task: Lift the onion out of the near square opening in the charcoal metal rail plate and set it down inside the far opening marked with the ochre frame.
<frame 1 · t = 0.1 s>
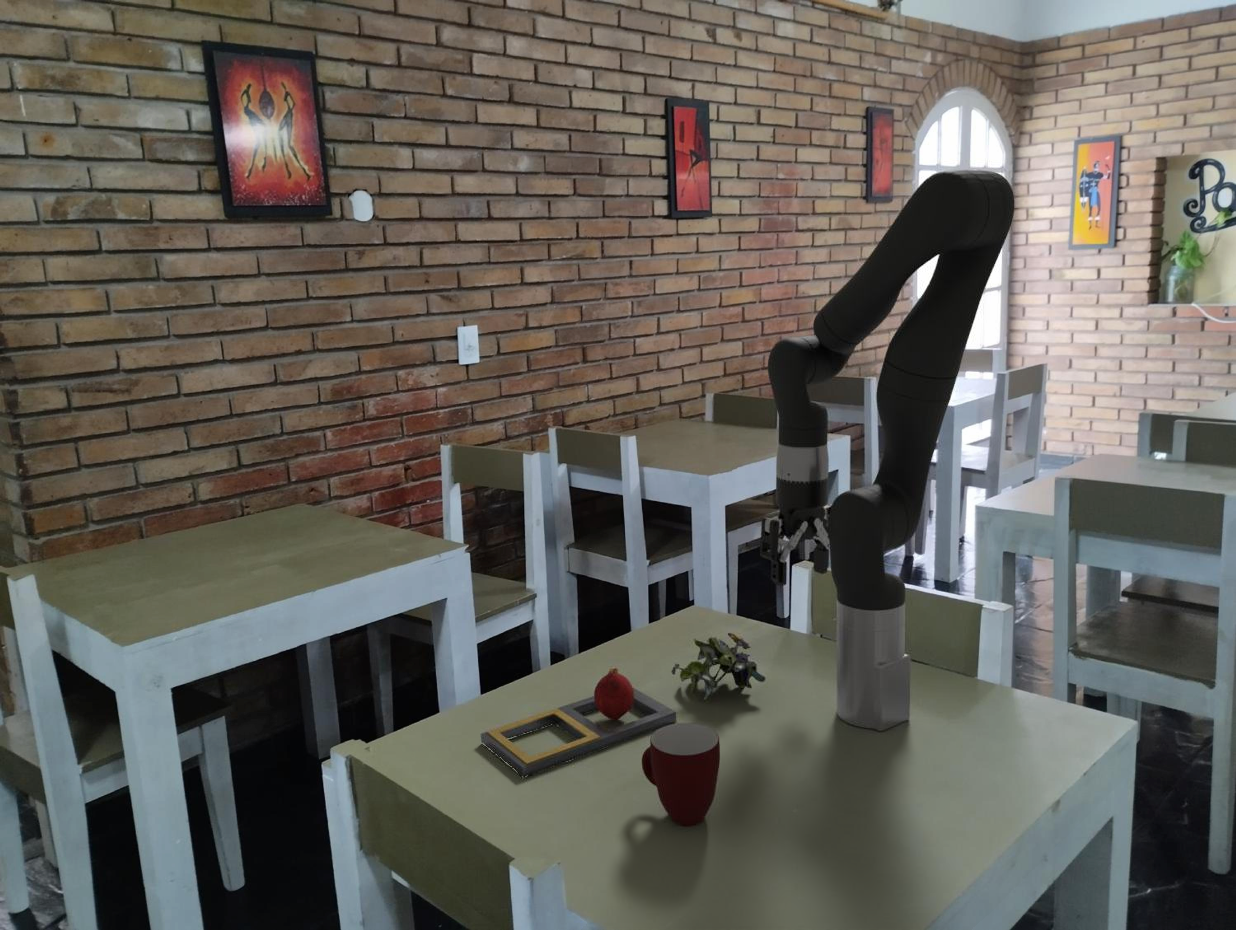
hand: (800, 578, 145), 17 cm above the table, tool pointing down, fingers open, 8 cm apart
onion: (615, 721, 139), resting in rail plate
rail plate: (580, 732, 136), on the table
passion flower: (718, 695, 146), on the table
mug: (678, 815, 115), on the table
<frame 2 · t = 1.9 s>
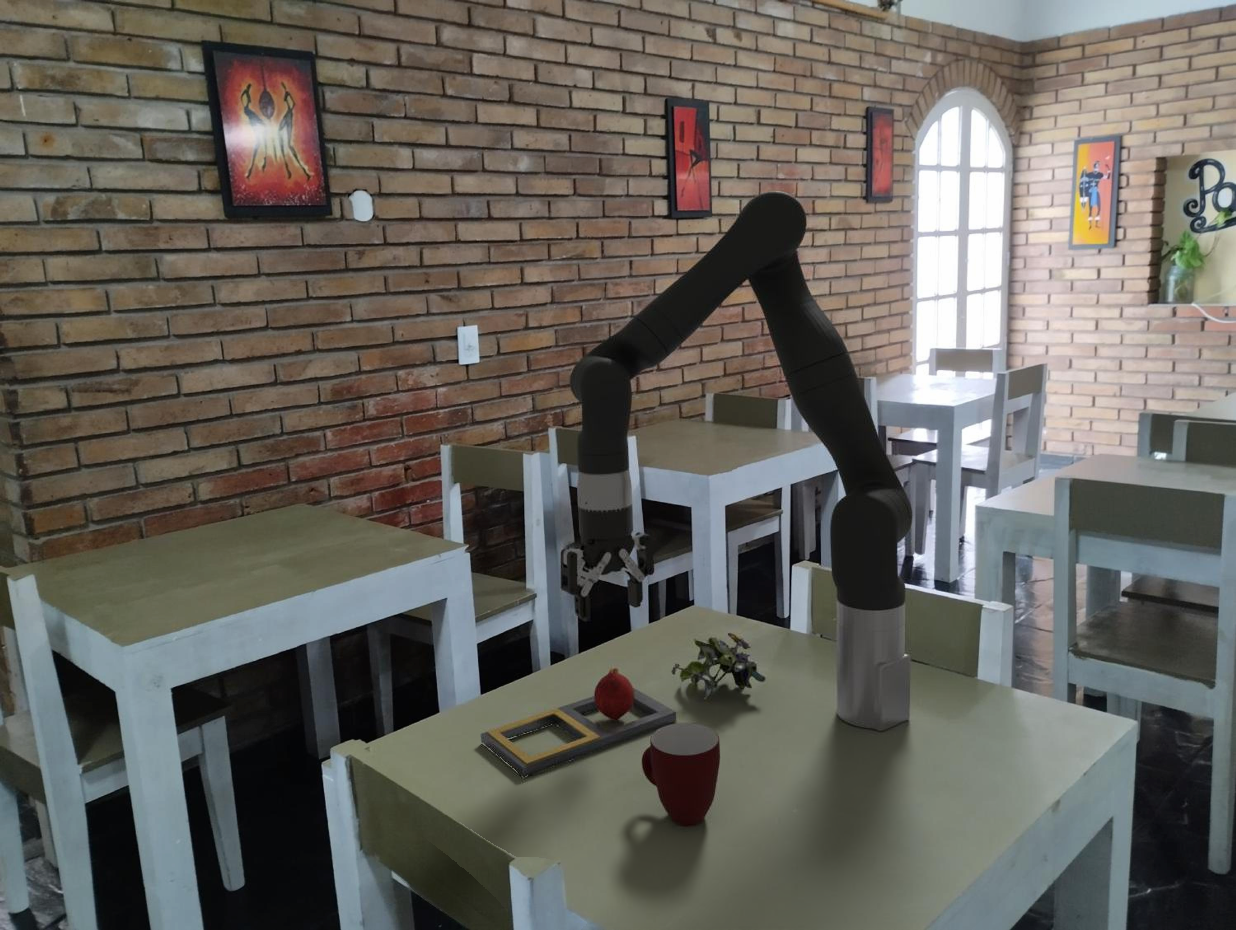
hand: (610, 612, 136), 16 cm above the table, tool pointing down, fingers open, 8 cm apart
nothing on the table moved.
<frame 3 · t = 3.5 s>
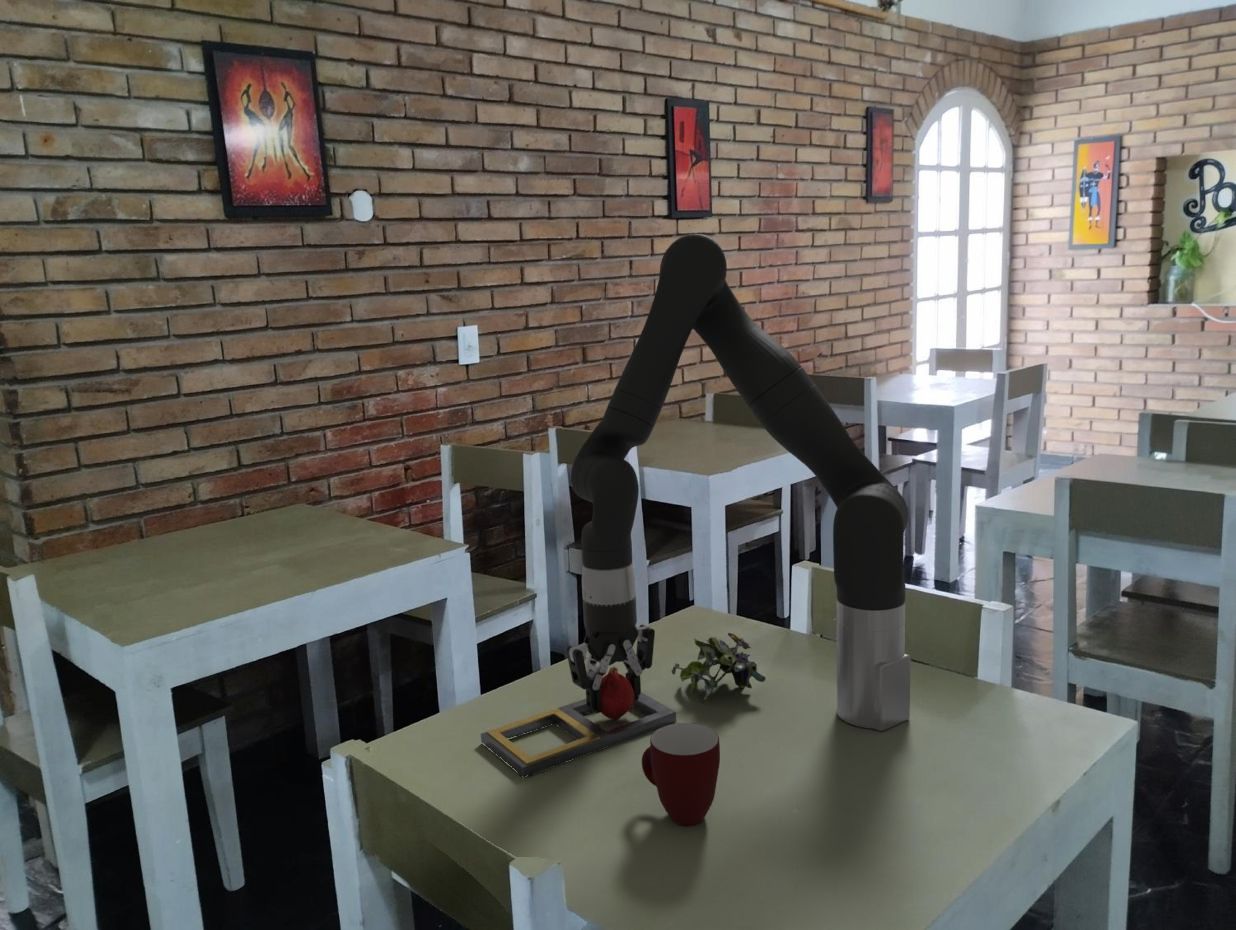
hand: (614, 704, 139), 2 cm above the table, tool pointing down, fingers closed on onion, 6 cm apart
onion: (615, 721, 139), resting in rail plate, touching gripper
everything else where it was.
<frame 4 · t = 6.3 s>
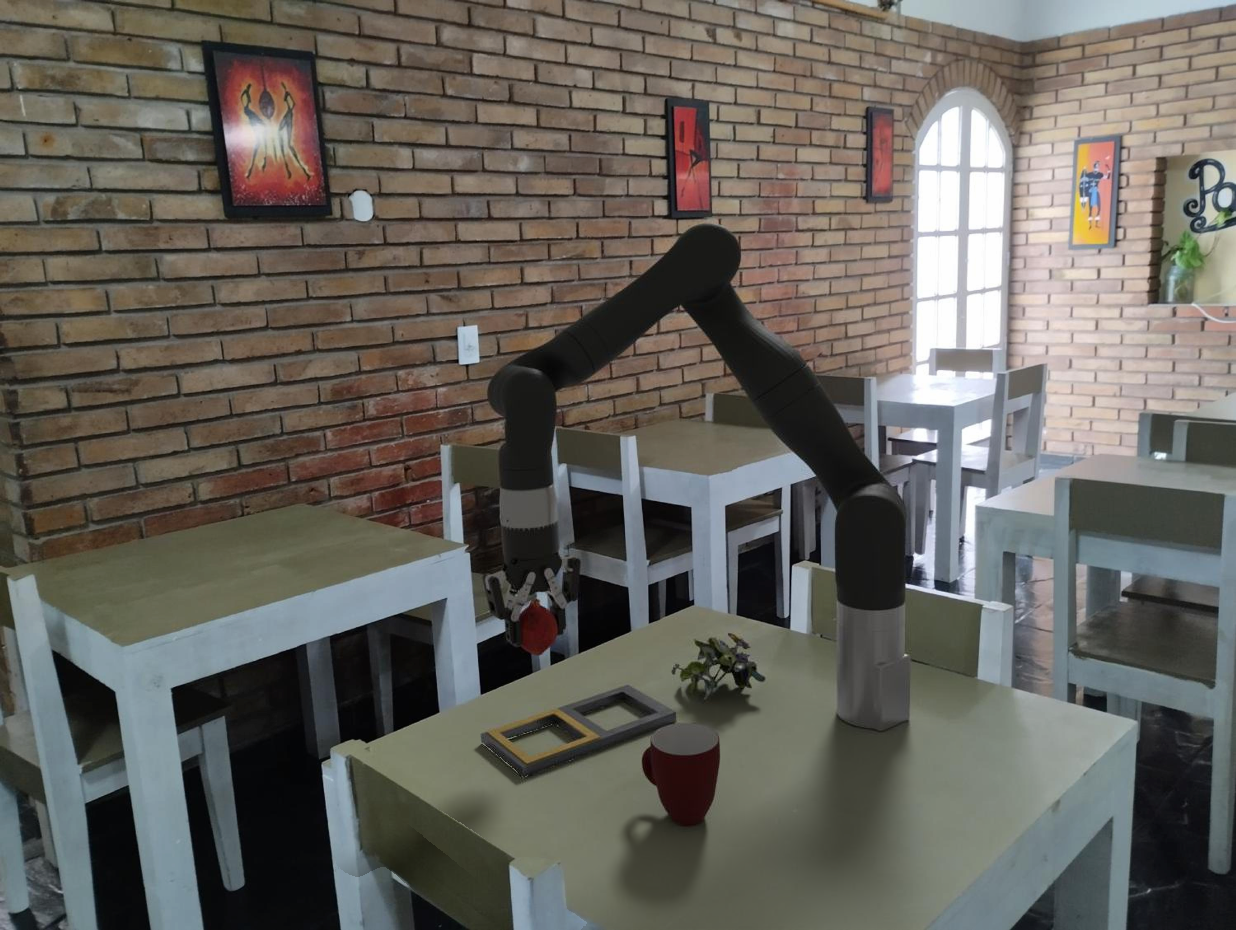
hand: (537, 638, 130), 15 cm above the table, tool pointing down, fingers closed on onion, 6 cm apart
onion: (538, 656, 130), point 13 cm above the table, touching gripper
everything else where it was.
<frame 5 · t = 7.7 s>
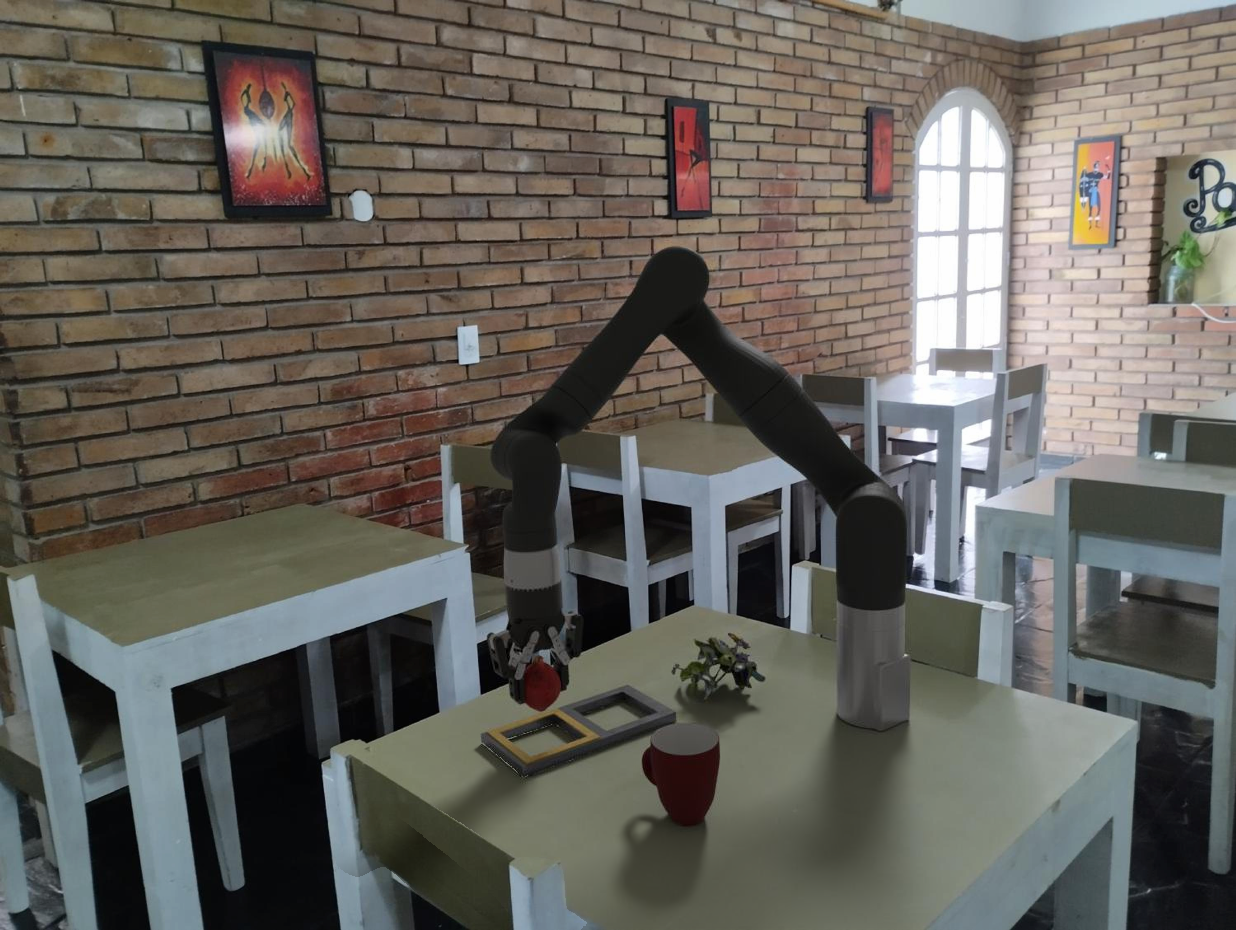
hand: (540, 695, 131), 7 cm above the table, tool pointing down, fingers closed on onion, 6 cm apart
onion: (541, 712, 132), point 5 cm above the table, touching gripper
everything else where it was.
when the fingers open (4 cm above the table, at t = 9.0 s): onion drops 1 cm, resting in rail plate.
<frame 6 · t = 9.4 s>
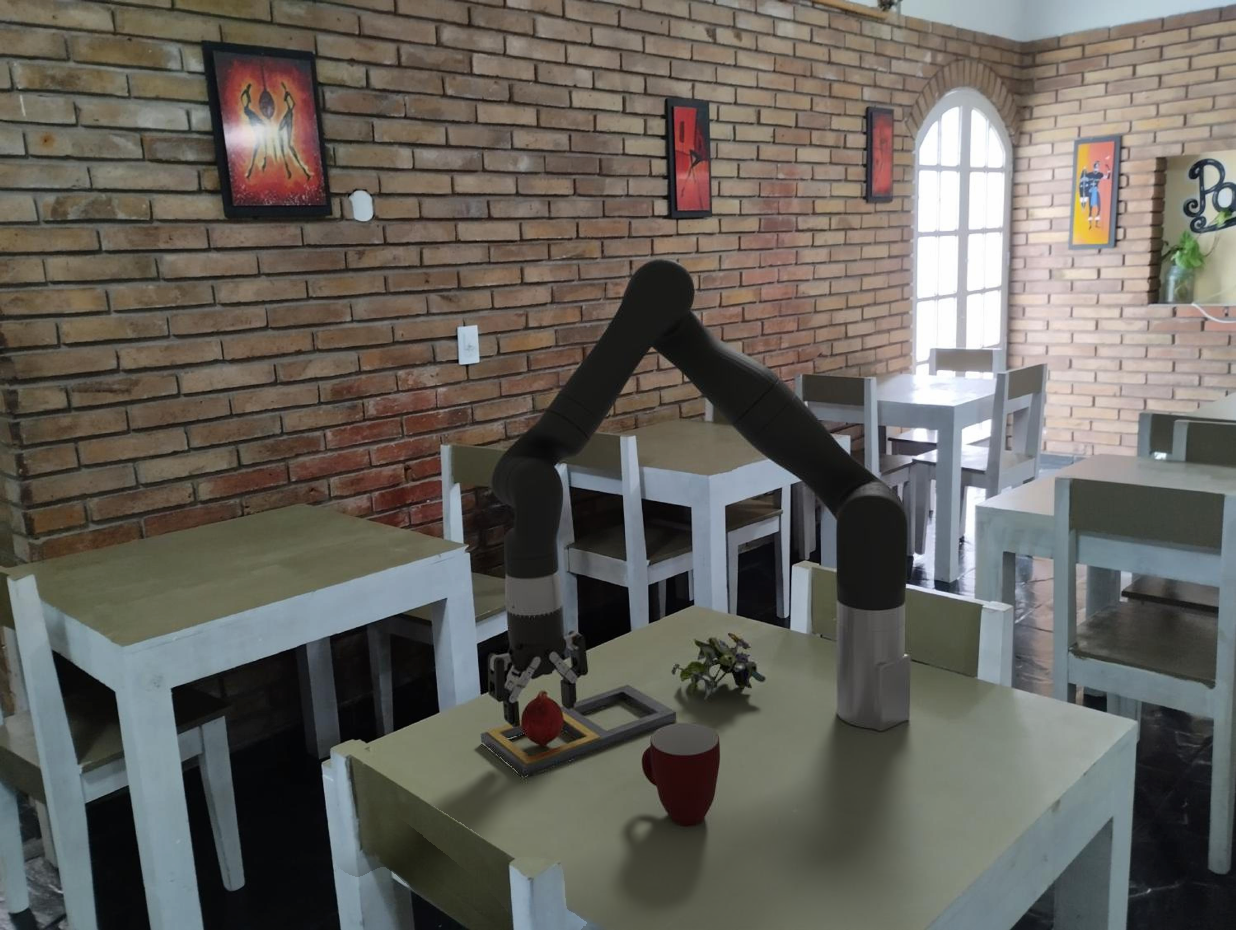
hand: (541, 715, 132), 4 cm above the table, tool pointing down, fingers open, 8 cm apart
onion: (543, 746, 133), resting in rail plate
everything else where it was.
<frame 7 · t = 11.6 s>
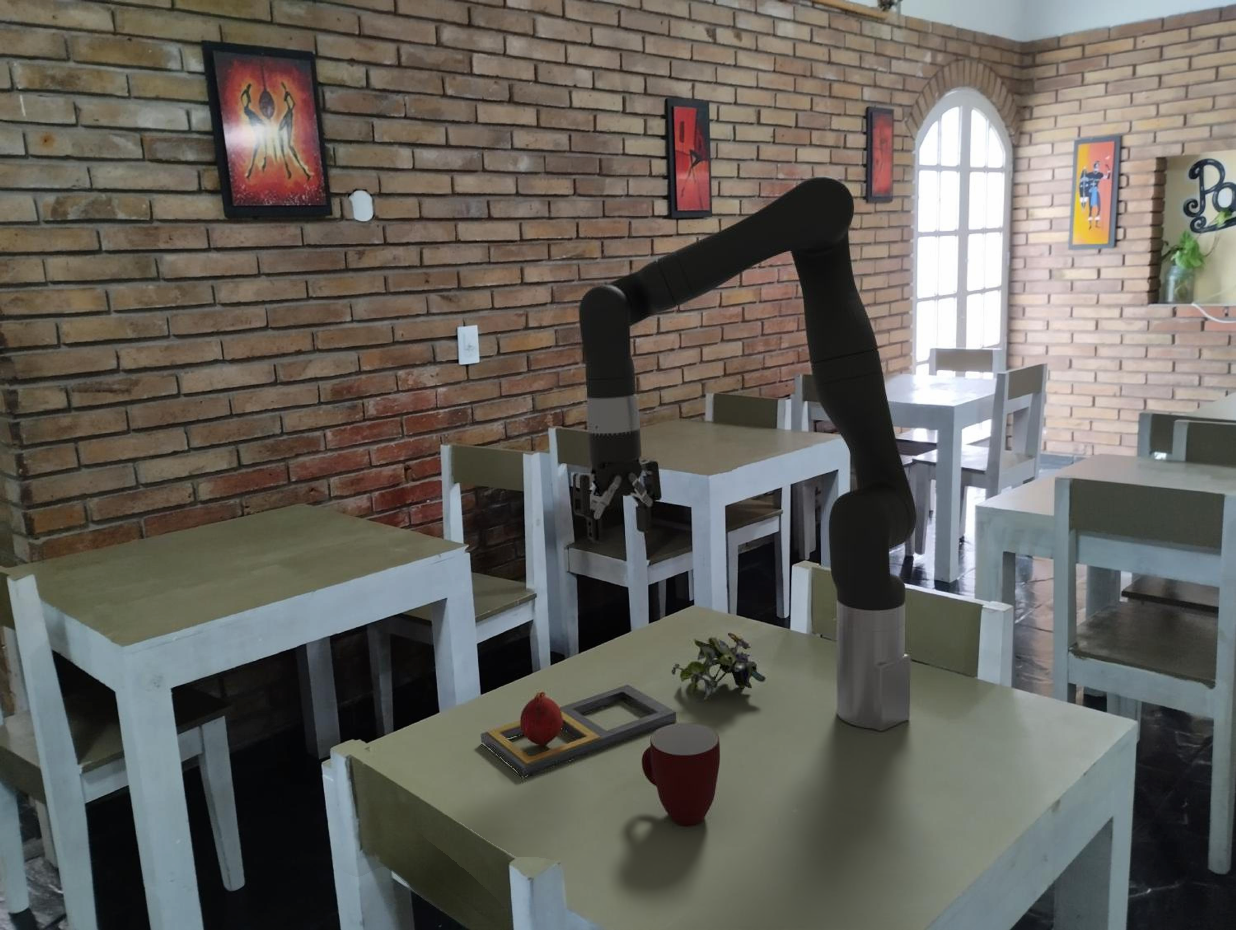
hand: (620, 537, 140), 26 cm above the table, tool pointing down, fingers open, 8 cm apart
nothing on the table moved.
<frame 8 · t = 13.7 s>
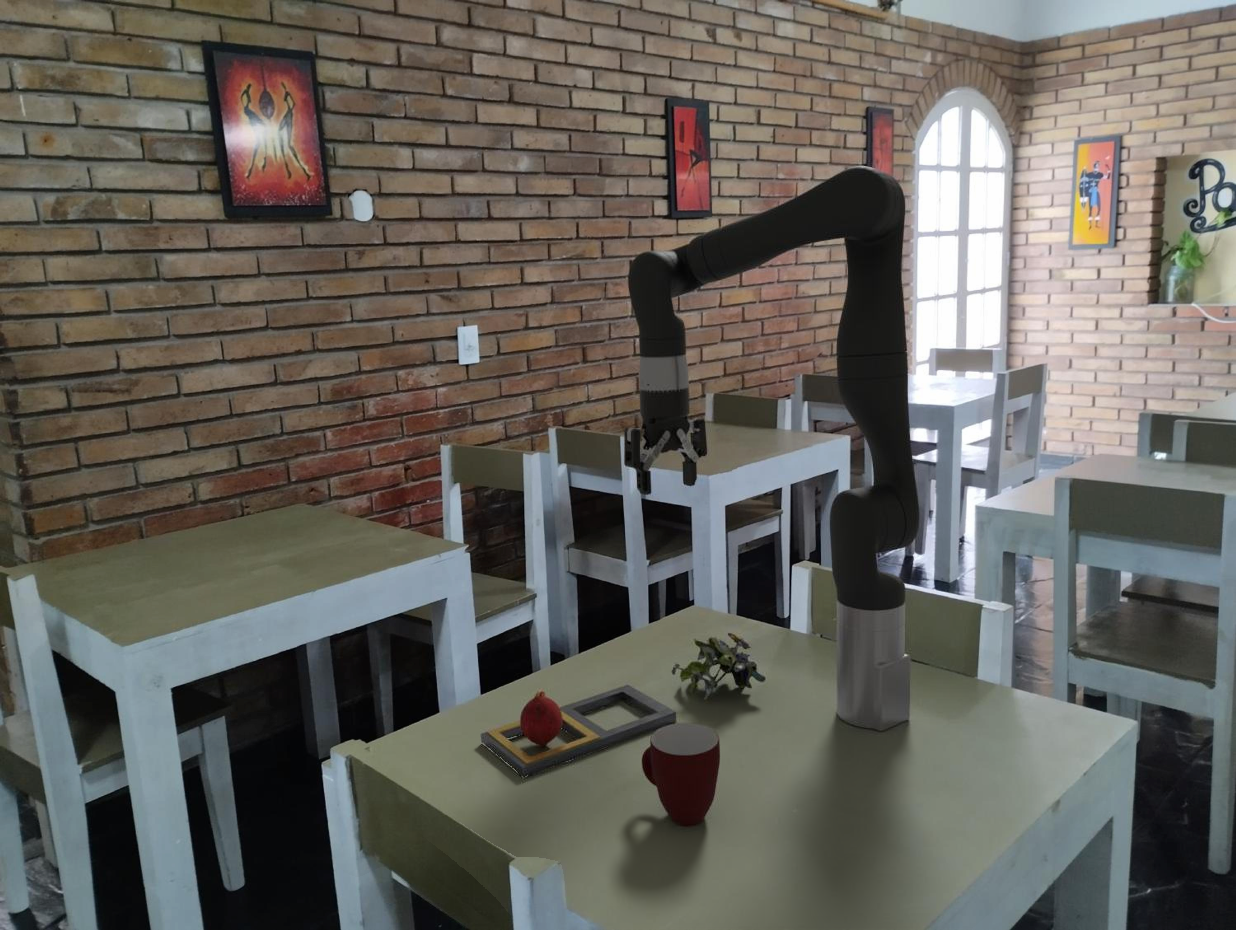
hand: (667, 489, 149), 30 cm above the table, tool pointing down, fingers open, 8 cm apart
nothing on the table moved.
at the end: onion 0.1 cm from the target spot on the rail plate, point 0.0 cm above the rail plate's base; the gripper is holding nothing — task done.
